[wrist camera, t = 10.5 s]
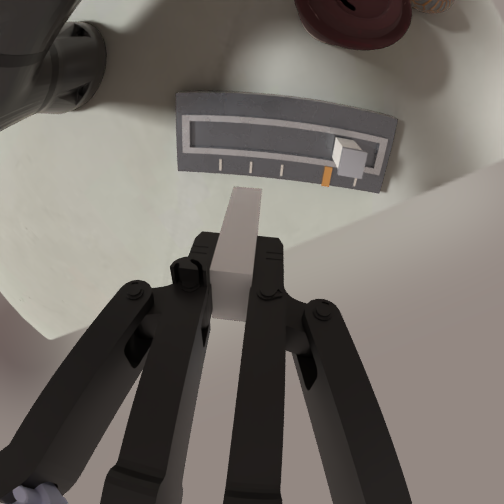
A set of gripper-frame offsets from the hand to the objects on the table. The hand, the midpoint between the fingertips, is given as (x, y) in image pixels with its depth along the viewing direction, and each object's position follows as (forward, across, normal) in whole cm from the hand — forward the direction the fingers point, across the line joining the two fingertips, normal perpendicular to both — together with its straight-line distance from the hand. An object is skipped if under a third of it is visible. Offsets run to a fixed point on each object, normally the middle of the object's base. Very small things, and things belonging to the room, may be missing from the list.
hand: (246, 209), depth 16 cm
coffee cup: (+24, +7, +15) cm, 29 cm away
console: (+23, +3, -2) cm, 24 cm away
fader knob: (+21, +10, -2) cm, 23 cm away
